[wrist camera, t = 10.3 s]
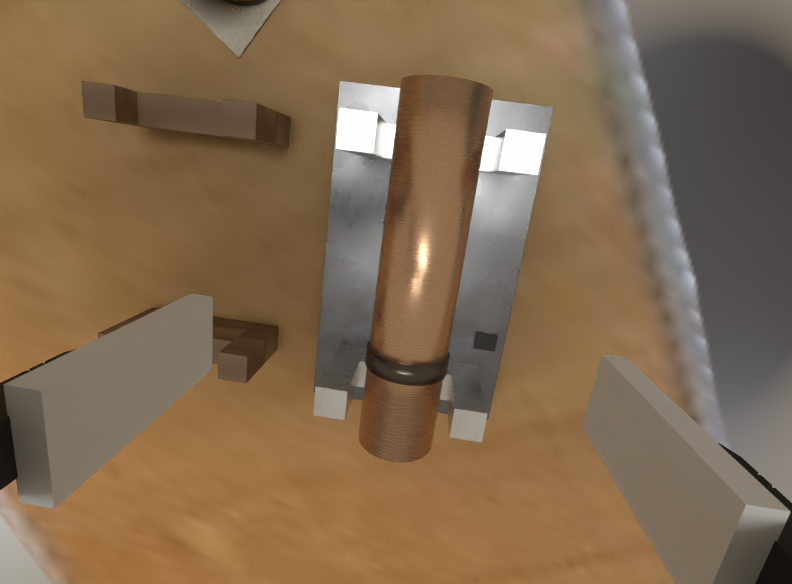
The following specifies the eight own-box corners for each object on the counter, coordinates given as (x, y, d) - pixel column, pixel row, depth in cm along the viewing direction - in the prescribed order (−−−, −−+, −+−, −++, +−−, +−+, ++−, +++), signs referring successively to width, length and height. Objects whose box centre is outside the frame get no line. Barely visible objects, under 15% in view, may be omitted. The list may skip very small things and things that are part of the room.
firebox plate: (344, 85, 30) (310, 50, 21) (547, 110, 29) (592, 84, 21) (318, 383, 36) (284, 445, 28) (485, 410, 35) (501, 480, 27)
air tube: (401, 90, 26) (394, 69, 21) (488, 101, 26) (504, 82, 21) (362, 411, 32) (349, 456, 27) (433, 422, 32) (434, 469, 26)
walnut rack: (147, 98, 31) (81, 81, 25) (290, 117, 30) (256, 103, 25) (153, 330, 36) (99, 359, 30) (276, 349, 35) (246, 383, 29)
